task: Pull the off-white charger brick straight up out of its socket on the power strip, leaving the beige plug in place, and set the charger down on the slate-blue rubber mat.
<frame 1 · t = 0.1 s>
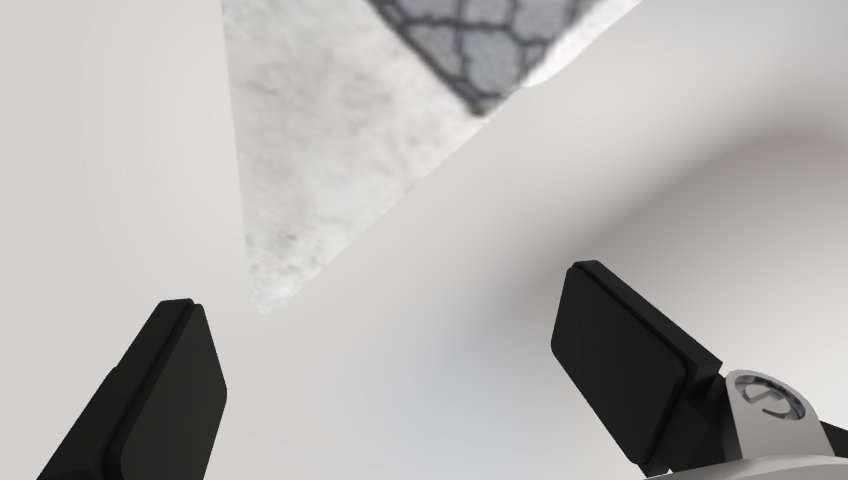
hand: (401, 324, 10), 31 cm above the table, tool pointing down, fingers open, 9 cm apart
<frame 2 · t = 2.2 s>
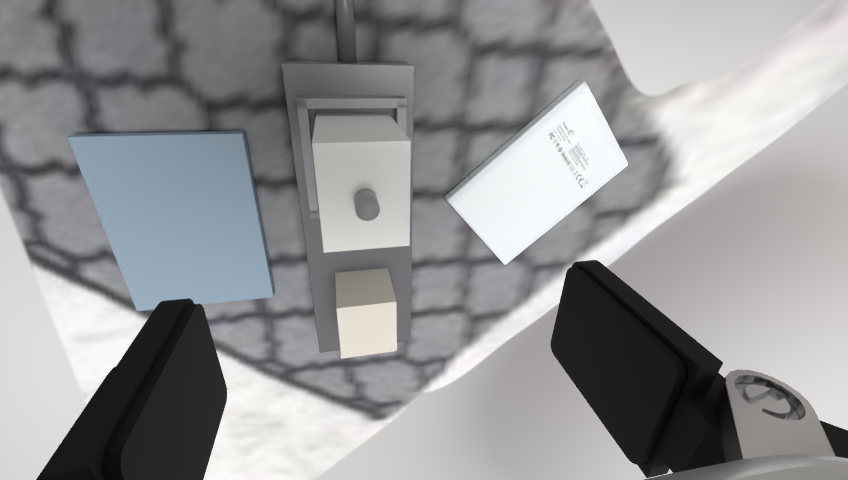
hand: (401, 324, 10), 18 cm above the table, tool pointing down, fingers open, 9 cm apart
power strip: (356, 213, 28), on the table
charger: (355, 156, 23), point 3 cm above the table, touching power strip
mat: (189, 223, 25), on the table
external hard drive: (531, 176, 30), on the table
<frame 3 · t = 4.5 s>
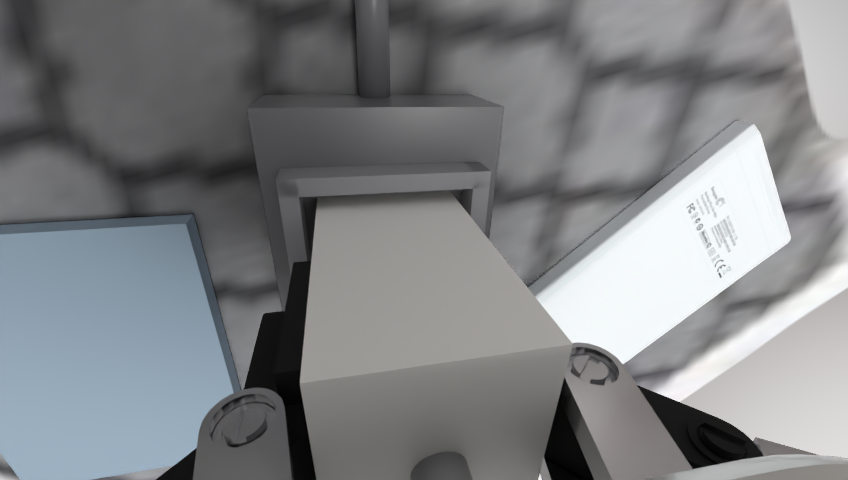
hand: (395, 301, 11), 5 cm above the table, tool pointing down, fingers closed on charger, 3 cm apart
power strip: (381, 326, 18), on the table
charger: (387, 265, 13), point 3 cm above the table, touching gripper
mat: (107, 358, 15), on the table
external hard drive: (640, 258, 20), on the table
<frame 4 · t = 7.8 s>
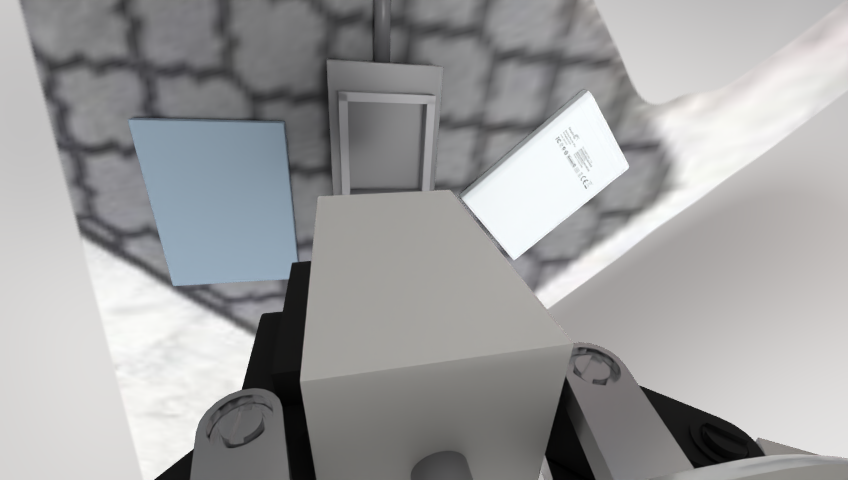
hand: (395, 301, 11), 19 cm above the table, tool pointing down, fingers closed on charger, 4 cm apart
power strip: (380, 202, 30), on the table
charger: (387, 264, 13), point 17 cm above the table, touching gripper
mat: (227, 205, 28), on the table
external hard drive: (539, 177, 33), on the table
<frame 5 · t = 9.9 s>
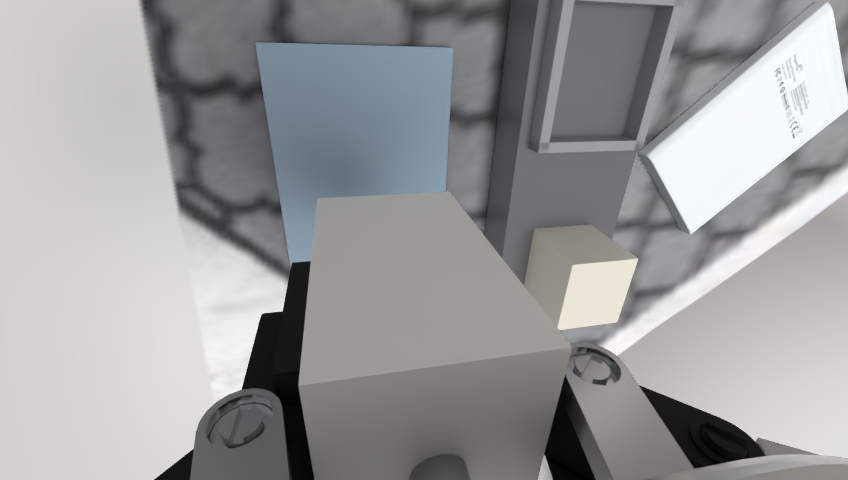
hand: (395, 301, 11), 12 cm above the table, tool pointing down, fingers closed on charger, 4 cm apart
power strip: (546, 160, 23), on the table
charger: (387, 266, 13), point 10 cm above the table, touching gripper
mat: (364, 167, 21), on the table
external hard drive: (729, 127, 26), on the table
when the fingers open (5 cm above the table, at t = 11.5 s): charger drops 2 cm, resting on mat.
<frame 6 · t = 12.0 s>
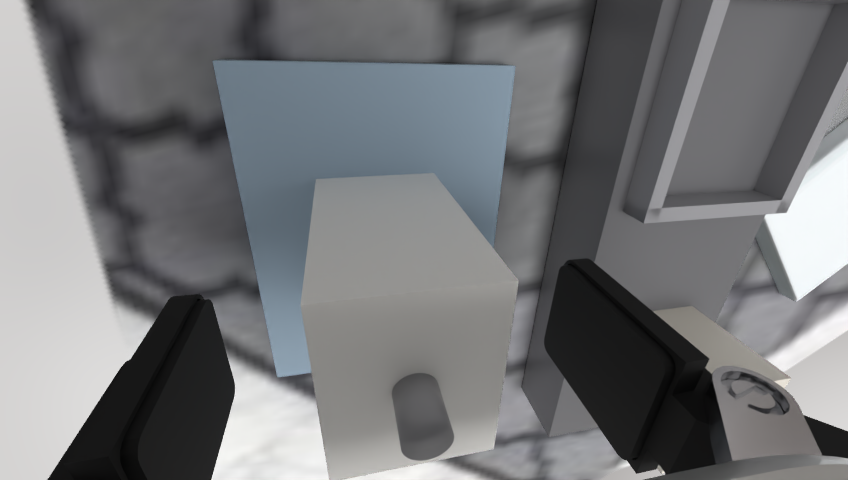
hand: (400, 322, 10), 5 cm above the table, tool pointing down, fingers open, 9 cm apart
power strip: (625, 215, 17), on the table
charger: (379, 241, 14), point 1 cm above the table, touching mat
mat: (378, 232, 15), on the table
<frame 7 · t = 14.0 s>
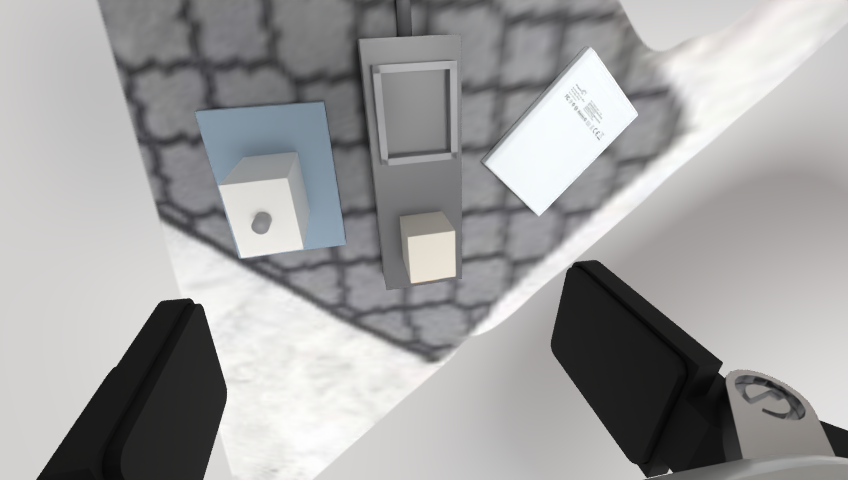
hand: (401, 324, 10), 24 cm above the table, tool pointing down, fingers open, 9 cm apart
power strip: (412, 168, 33), on the table
charger: (278, 185, 30), point 1 cm above the table, touching mat
mat: (280, 182, 31), on the table
external hard drive: (553, 135, 35), on the table
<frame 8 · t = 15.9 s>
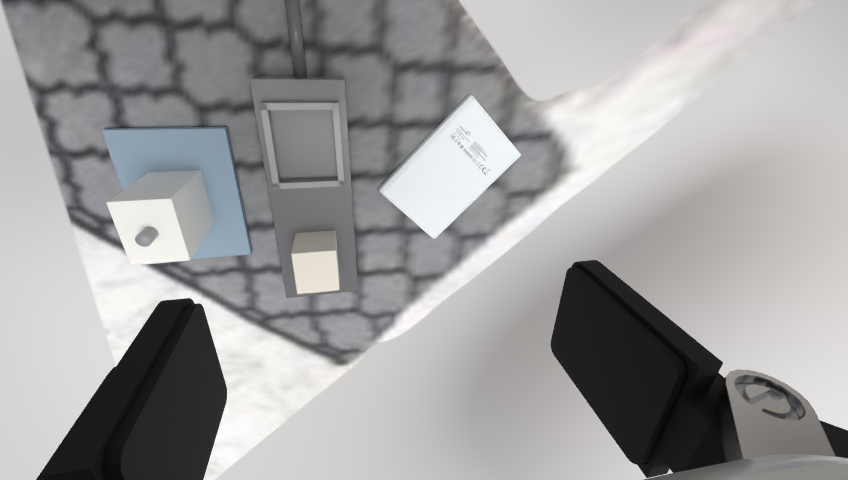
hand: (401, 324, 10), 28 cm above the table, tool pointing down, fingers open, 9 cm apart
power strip: (313, 190, 37), on the table
charger: (183, 198, 34), point 1 cm above the table, touching mat
mat: (187, 195, 34), on the table
external hard drive: (447, 168, 39), on the table
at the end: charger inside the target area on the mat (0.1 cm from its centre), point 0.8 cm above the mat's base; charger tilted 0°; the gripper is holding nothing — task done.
